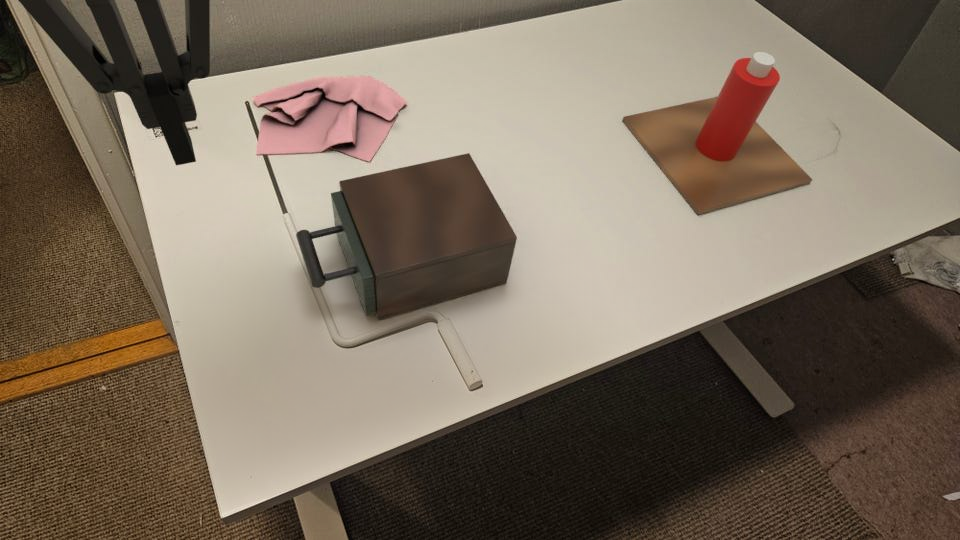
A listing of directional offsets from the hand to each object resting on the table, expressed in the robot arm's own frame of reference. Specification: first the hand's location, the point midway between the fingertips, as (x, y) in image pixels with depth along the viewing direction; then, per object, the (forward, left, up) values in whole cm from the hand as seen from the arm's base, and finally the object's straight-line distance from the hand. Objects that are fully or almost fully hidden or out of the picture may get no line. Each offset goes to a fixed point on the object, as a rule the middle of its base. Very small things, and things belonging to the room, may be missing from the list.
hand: (183, 152), depth 49 cm
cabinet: (0, -21, -22) cm, 31 cm away
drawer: (0, -17, -22) cm, 27 cm away
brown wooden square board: (+5, -68, -22) cm, 72 cm away
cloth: (+28, -16, -23) cm, 39 cm away
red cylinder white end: (+5, -68, -22) cm, 72 cm away
